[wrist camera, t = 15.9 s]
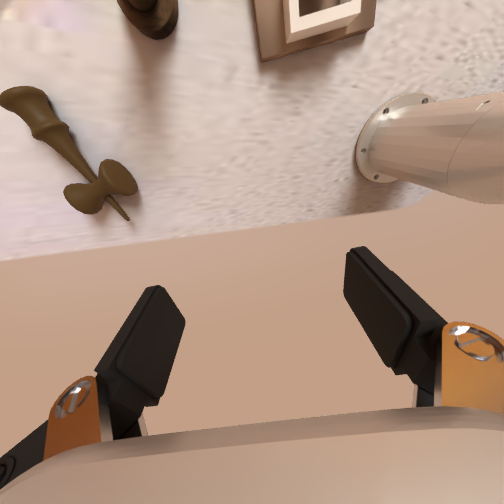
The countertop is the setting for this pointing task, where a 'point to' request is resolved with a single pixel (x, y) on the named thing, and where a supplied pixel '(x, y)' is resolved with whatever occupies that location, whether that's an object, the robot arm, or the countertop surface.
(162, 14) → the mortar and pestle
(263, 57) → the board
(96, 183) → the kendama
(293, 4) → the end caps
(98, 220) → the countertop surface
